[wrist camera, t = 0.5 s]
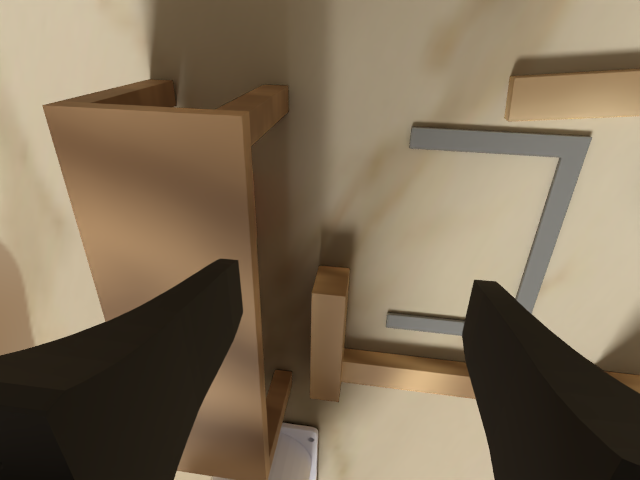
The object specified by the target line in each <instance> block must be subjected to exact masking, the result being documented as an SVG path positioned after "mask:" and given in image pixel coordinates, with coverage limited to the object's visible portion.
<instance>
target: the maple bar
mask: <svg viewBox="0 0 640 480" xmlns="http://www.w3.org/2000/svg"><path fill="white" fill-rule="evenodd" d="M630 116H640V69H625V70H608V71H591V72H574V73H557V74H540V75H523V76H510V80H509V87H508V94H507V102H506V109H505V117H504V118H505V119H506V120H507V121H509V122H510V121H534V120H558V119H582V118H606V117H630Z"/></svg>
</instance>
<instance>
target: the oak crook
mask: <svg viewBox="0 0 640 480" xmlns="http://www.w3.org/2000/svg"><path fill="white" fill-rule="evenodd" d="M349 271H350V268H341V267H331V266H320V265H319V268H318V272H317V275H316V279H315V283H314V286H313V290H312V302H311V362H310V398H312V399H320V400H327V401H335V402H339V395H340V387H341V382H346V383H354V384H362V385H370V386H377V387H385V388H393V389H401V390H409V391H417V392H425V393H433V394H441V395H449V396H457V397H464V398H472V399H476V398H475V394H474V391H473V387H472V384H471V380H470V376H469V373H468V369H467V365H466V362H458V361H449V360H441V359H432V358H424V357H415V356H406V355H398V354H389V353H381V352H372V351H364V350H355V349H347V348H344V344H345V329H346V315H347V300H348V286H349ZM605 372H606V373H608V374H609V375H611V376H612V377H614V378H615V379H617V380H619V381H620V382H622V383H623V384H625V385H627V386H628V387H630V388H632V389H633V390H635V391H637V392H638V393H640V375H633V374H625V373H616V372H607V371H605Z"/></svg>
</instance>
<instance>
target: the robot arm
mask: <svg viewBox="0 0 640 480" xmlns="http://www.w3.org/2000/svg"><path fill="white" fill-rule="evenodd" d="M242 315H243V303H242V293H241V283H240V272H239V262H238V260H232V259H218V260H216V261H214V262H212V263H211V264H209V265H208V266H206V267H204V268H203V269H201V270H200V271H198V272H197V273H195V274H193V275H192V276H190V277H189V278H187V279H185V280H184V281H182V282H181V283H179V284H177V285H176V286H174V287H173V288H171V289H169V290H167V291H166V292H164V293H162V294H160V295H159V296H157V297H155V298H153V299H152V300H150V301H148V302H146V303H145V304H143V305H141V306H139V307H137V308H135V309H133V310H131V311H129V312H127V313H124V314H122V315H120V316H118V317H116V318H114V319H111V320H109V321H107V322H104V323H102V324H99V325H96V326H94V327H91V328H89V329H86V330H83V331H81V332H78V333H76V334H73V335H70V336H67V337H64V338H61V339H58V340H55V341H52V342H49V343H45V344H42V345H39V346H35V347H32V348H29V349H25V350H21V351H17V352H13V353H9V354H5V355H1V356H0V480H174V477H175V474H176V471H177V468H178V466H179V463H180V460H181V457H182V454H183V452H184V449H185V446H186V443H187V440H188V438H189V435H190V432H191V430H192V427H193V425H194V422H195V419H196V417H197V414H198V412H199V409H200V407H201V405H202V403H203V400H204V398H205V396H206V394H207V392H208V390H209V388H210V386H211V384H212V382H213V380H214V378H215V377H216V375H217V373H218V371H219V369H220V367H221V365H222V363H223V361H224V359H225V357H226V355H227V353H228V351H229V349H230V347H231V345H232V343H233V341H234V338H235V335H236V333H237V330H238V327H239V324H240V321H241V318H242ZM462 338H463V346H464V353H465V360H466V365H467V369H468V373H469V376H470V380H471V384H472V387H473V391H474V394H475V398H476V401H477V405H478V408H479V412H480V415H481V419H482V422H483V426H484V429H485V433H486V437H487V441H488V445H489V450H490V455H491V461H492V467H493V473H494V478H495V480H640V393H638V392H637V391H635V390H633V389H632V388H630V387H628V386H627V385H625V384H623V383H622V382H620V381H619V380H617V379H615V378H614V377H612V376H611V375H609V374H608V373H606V372H605V371H603V370H602V369H600V368H599V367H598V366H596V365H595V364H593V363H592V362H590V361H589V360H587V359H586V358H585V357H583V356H582V355H580V354H579V353H578V352H576V351H575V350H574V349H572V348H571V347H570V346H569V345H567V344H566V343H565V342H564V341H562V340H561V339H560V338H559V337H557V336H556V335H555V334H554V333H553V332H551V331H550V330H549V329H548V328H547V327H545V326H544V325H543V324H542V323H541V322H540V321H539V320H538V319H536V318H535V317H534V316H533V315H532V314H531V313H530V312H529V311H528V310H526V309H525V308H524V307H523V306H522V305H521V304H520V303H519V302H518V301H517V300H516V299H515V298H514V297H513V296H511V295H510V294H509V293H508V292H507V291H506V290H505V289H504V288H503V287H502V286H501V285H499V284H498V283H497V282H495V281H483V280H474V283H473V288H472V292H471V296H470V301H469V305H468V309H467V314H466V318H465V323H464V327H463V331H462ZM317 455H318V430H317V429H316V428H314V427H310V426H303V425H296V424H289V423H282V426H281V430H280V434H279V438H278V442H277V446H276V450H275V453H274V457H273V461H272V465H271V469H270V473H269V477H268V480H317ZM211 480H233V479H227V478H221V477H214V476H212V477H211Z"/></svg>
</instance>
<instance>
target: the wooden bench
mask: <svg viewBox="0 0 640 480" xmlns="http://www.w3.org/2000/svg"><path fill="white" fill-rule="evenodd" d="M42 106H43V109H44V113H45V116H46V119H47V123H48V126H49V130H50V133H51V136H52V140H53V143H54V147H55V150H56V154H57V157H58V160H59V164H60V167H61V171H62V174H63V177H64V181H65V184H66V188H67V191H68V195H69V198H70V201H71V205H72V208H73V212H74V215H75V219H76V222H77V225H78V229H79V232H80V236H81V239H82V242H83V246H84V249H85V253H86V256H87V260H88V263H89V266H90V270H91V273H92V277H93V280H94V283H95V287H96V290H97V294H98V297H99V301H100V304H101V307H102V311H103V314H104V318H105V321H106V322H107V321H109V320H111V319H114V318H116V317H118V316H120V315H122V314H124V313H127V312H129V311H131V310H133V309H135V308H137V307H139V306H141V305H143V304H145V303H146V302H148V301H150V300H152V299H153V298H155V297H157V296H159V295H160V294H162V293H164V292H166V291H167V290H169V289H171V288H173V287H174V286H176V285H177V284H179V283H181V282H182V281H184V280H185V279H187V278H189V277H190V276H192V275H193V274H195V273H197V272H198V271H200V270H201V269H203V268H204V267H206V266H208V265H209V264H211V263H212V262H214V261H216V260H218V259H232V260H238V262H239V272H240V283H241V293H242V303H243V315H242V318H241V321H240V324H239V327H238V330H237V333H236V335H235V338H234V341H233V343H232V345H231V347H230V349H229V351H228V353H227V355H226V357H225V359H224V361H223V363H222V365H221V367H220V369H219V371H218V373H217V375H216V377H215V378H214V380H213V382H212V384H211V386H210V388H209V390H208V392H207V394H206V396H205V398H204V400H203V403H202V405H201V407H200V409H199V412H198V414H197V417H196V419H195V422H194V425H193V427H192V430H191V432H190V435H189V438H188V440H187V443H186V446H185V449H184V452H183V454H182V457H181V460H180V463H179V466H178V468H177V471H183V472H189V473H196V474H202V475H208V476H214V477H221V478H227V479H233V480H268V477H269V473H270V469H271V465H272V461H273V457H274V453H275V450H276V446H277V442H278V438H279V434H280V430H281V426H282V422H283V418H284V414H285V410H286V406H287V403H288V399H289V395H290V391H291V387H292V372H291V371H283V370H275V372H274V375H273V378H272V382H271V385H270V388H269V391H268V394H267V397H266V393H265V375H264V358H263V341H262V324H261V307H260V290H259V273H258V256H257V238H256V221H255V204H254V187H253V170H252V153H251V146H252V145H253V144H254V143H255V142H257V141H258V140H259V139H260V138H261V137H262V136H263V135H264V134H265V133H266V132H267V131H268V130H269V129H271V128H272V127H273V126H274V125H275V124H276V123H277V122H278V121H279V120H280V119H281V118H282V117H283V116H285V115H286V114H287V113H288V112H289V95H288V86H286V85H262V86H260V87H258V88H256V89H254V90H252V91H250V92H248V93H246V94H244V95H242V96H240V97H239V98H237V99H235V100H233V101H231V102H229V103H227V104H225V105H223V106H221V107H219V108H217V109H215V110H213V109H194V108H175V107H174V106H176V101H175V93H174V86H173V80H153V79H149V80H145V81H141V82H137V83H133V84H128V85H124V86H120V87H116V88H112V89H108V90H104V91H100V92H95V93H91V94H87V95H83V96H79V97H75V98H71V99H67V100H62V101H58V102H54V103H50V104H46V105H42Z"/></svg>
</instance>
